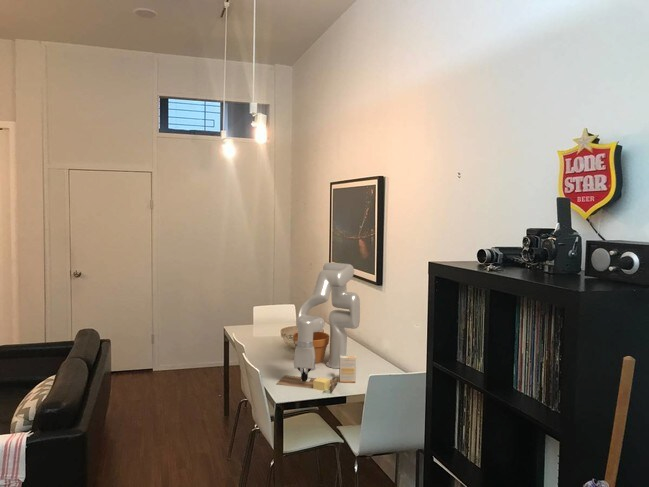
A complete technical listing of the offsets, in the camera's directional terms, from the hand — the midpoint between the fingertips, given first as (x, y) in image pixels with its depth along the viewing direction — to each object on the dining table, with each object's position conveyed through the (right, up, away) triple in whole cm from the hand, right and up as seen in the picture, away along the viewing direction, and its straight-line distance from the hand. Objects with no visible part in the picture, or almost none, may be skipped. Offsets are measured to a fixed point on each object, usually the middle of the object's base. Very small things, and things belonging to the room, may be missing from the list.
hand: (304, 380), depth 252 cm
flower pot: (+2, -1, +45) cm, 45 cm away
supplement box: (+22, -3, +10) cm, 24 cm away
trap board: (+1, -3, +2) cm, 4 cm away
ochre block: (+9, -2, -5) cm, 10 cm away
